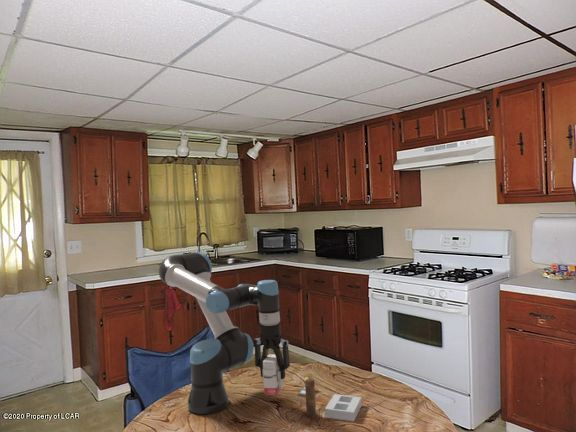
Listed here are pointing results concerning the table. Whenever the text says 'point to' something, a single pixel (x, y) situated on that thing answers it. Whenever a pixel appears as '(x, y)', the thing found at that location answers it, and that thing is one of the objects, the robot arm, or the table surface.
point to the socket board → (343, 407)
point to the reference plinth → (303, 389)
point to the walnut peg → (310, 398)
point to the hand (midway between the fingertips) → (273, 386)
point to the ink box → (271, 375)
